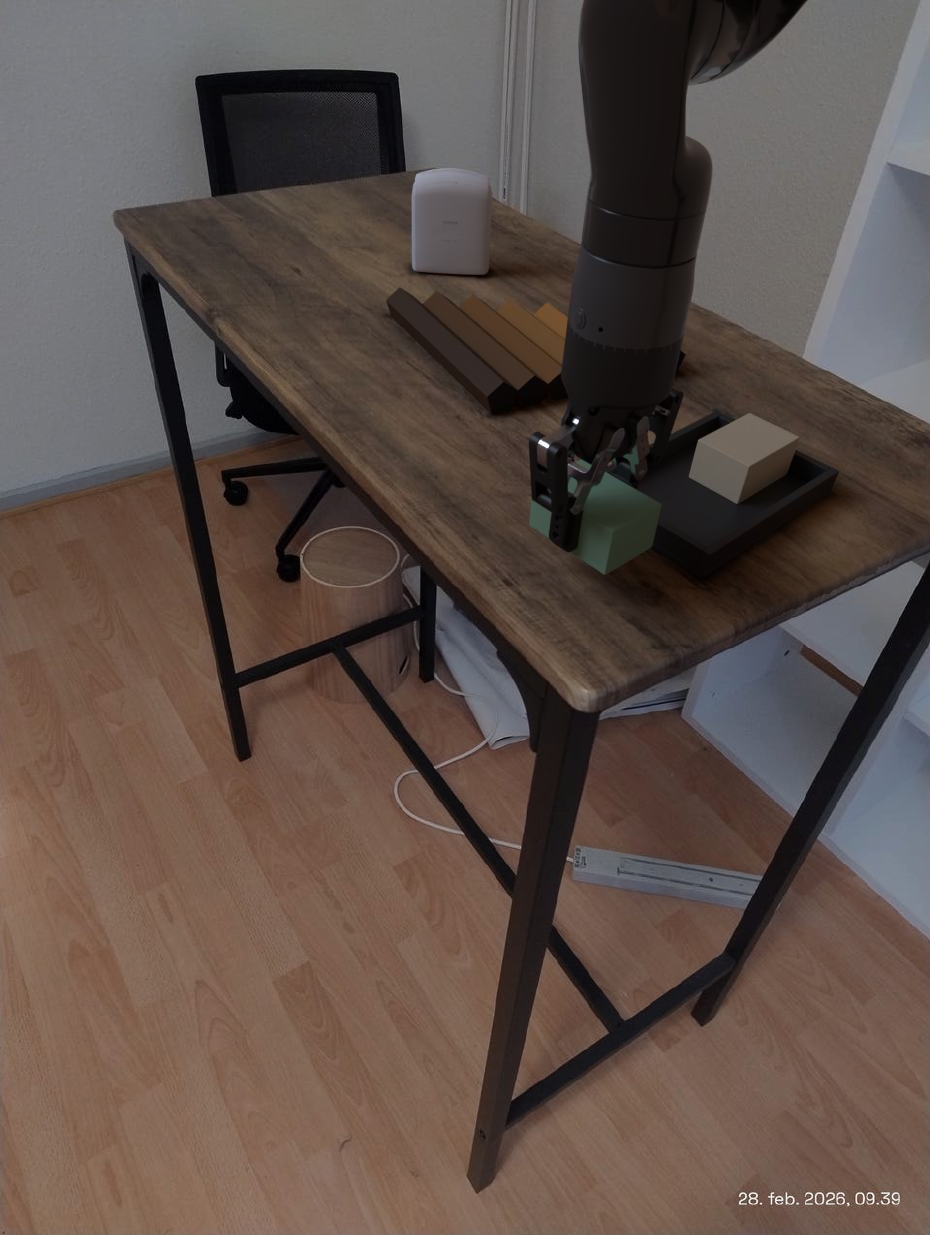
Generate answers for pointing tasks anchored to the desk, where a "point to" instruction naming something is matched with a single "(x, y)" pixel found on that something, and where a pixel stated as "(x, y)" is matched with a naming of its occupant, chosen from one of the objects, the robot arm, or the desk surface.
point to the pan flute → (491, 346)
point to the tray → (722, 502)
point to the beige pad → (743, 457)
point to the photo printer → (451, 222)
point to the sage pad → (608, 523)
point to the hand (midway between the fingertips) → (590, 530)
